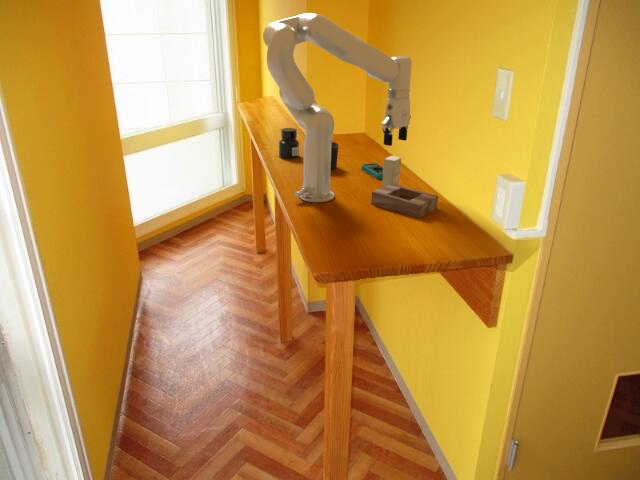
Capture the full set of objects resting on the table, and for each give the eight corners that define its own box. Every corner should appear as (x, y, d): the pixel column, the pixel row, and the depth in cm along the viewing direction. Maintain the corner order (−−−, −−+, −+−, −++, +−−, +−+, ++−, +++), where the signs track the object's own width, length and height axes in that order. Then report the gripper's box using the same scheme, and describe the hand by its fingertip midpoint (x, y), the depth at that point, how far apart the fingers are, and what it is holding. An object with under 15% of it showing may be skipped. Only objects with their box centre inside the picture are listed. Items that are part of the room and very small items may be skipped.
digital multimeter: (378, 181, 210) (378, 174, 209) (360, 170, 222) (360, 163, 221) (394, 179, 213) (394, 172, 212) (375, 168, 225) (376, 162, 224)
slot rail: (419, 218, 174) (420, 205, 173) (371, 204, 185) (372, 191, 183) (436, 208, 183) (438, 196, 181) (390, 195, 194) (391, 183, 192)
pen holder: (311, 165, 226) (311, 142, 221) (331, 163, 229) (332, 140, 225) (320, 172, 218) (320, 148, 214) (341, 169, 221) (342, 146, 217)
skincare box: (392, 193, 196) (394, 161, 191) (381, 190, 198) (383, 159, 193) (399, 188, 201) (402, 157, 196) (388, 186, 203) (390, 155, 198)
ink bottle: (298, 159, 234) (298, 132, 229) (278, 159, 234) (277, 131, 229) (299, 153, 242) (299, 127, 237) (280, 153, 242) (279, 126, 238)
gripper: (394, 98, 177) (390, 149, 184) (420, 92, 189) (416, 139, 196) (375, 95, 181) (372, 145, 189) (402, 89, 193) (399, 136, 201)
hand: (395, 142), depth 192 cm, fingers open, 9 cm apart
